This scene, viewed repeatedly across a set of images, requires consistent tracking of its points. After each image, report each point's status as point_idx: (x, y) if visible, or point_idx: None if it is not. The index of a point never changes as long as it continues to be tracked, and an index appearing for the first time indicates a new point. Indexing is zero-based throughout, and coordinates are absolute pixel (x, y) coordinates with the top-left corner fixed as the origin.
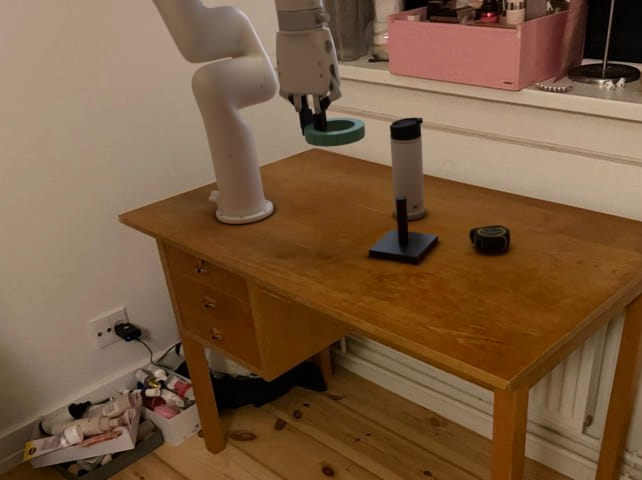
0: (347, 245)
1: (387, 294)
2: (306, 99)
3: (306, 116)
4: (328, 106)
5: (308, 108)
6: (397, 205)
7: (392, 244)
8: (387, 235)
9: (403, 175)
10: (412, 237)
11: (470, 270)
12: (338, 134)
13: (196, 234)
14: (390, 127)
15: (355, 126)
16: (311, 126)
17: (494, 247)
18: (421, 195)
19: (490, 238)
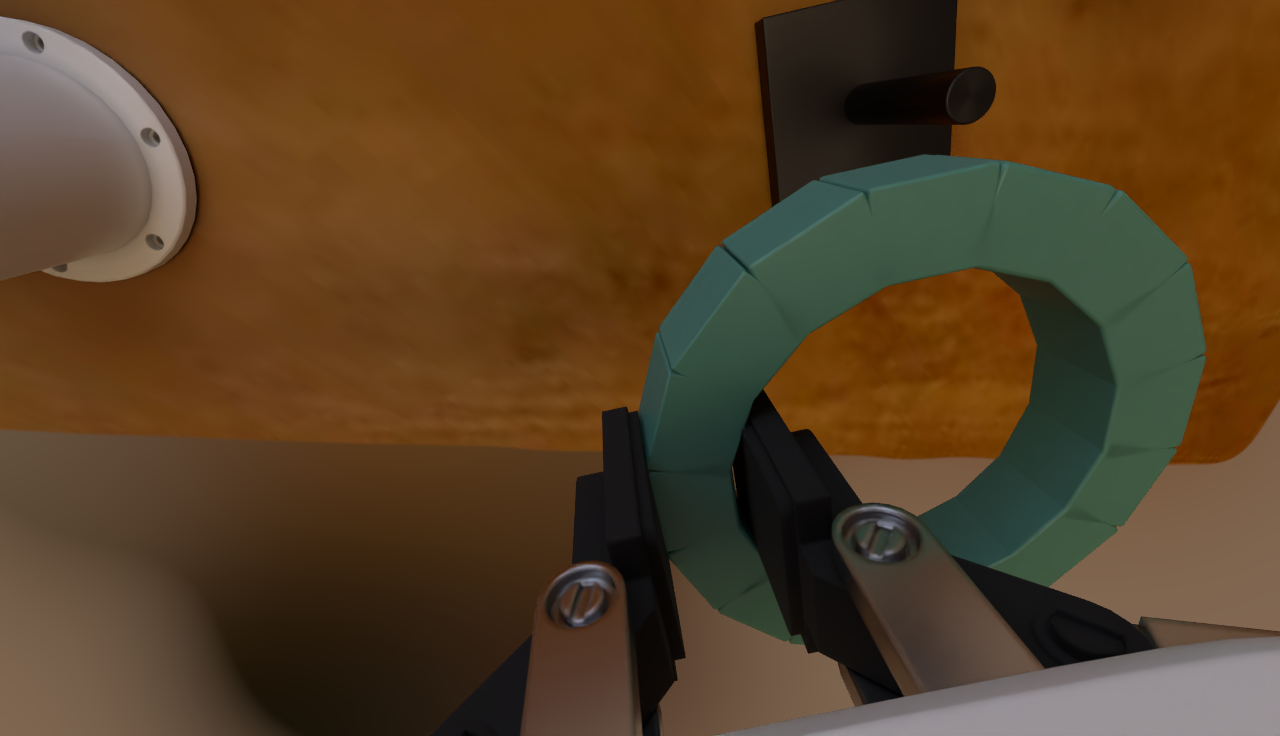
0: (655, 181)
1: (926, 355)
2: (636, 694)
3: (673, 598)
4: (968, 567)
5: (655, 599)
6: (942, 124)
7: (833, 140)
8: (778, 82)
9: None
10: (874, 46)
11: (1101, 122)
12: (1058, 576)
13: (151, 384)
14: None
15: (1136, 393)
16: (730, 549)
17: None
18: None
19: None
